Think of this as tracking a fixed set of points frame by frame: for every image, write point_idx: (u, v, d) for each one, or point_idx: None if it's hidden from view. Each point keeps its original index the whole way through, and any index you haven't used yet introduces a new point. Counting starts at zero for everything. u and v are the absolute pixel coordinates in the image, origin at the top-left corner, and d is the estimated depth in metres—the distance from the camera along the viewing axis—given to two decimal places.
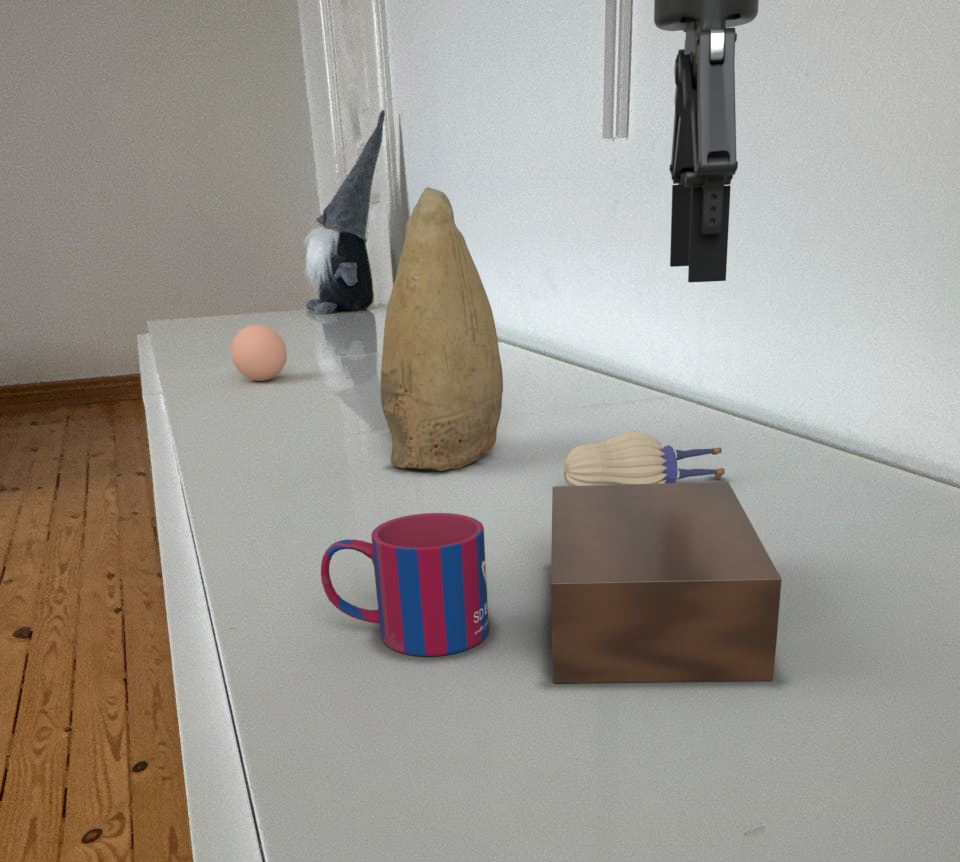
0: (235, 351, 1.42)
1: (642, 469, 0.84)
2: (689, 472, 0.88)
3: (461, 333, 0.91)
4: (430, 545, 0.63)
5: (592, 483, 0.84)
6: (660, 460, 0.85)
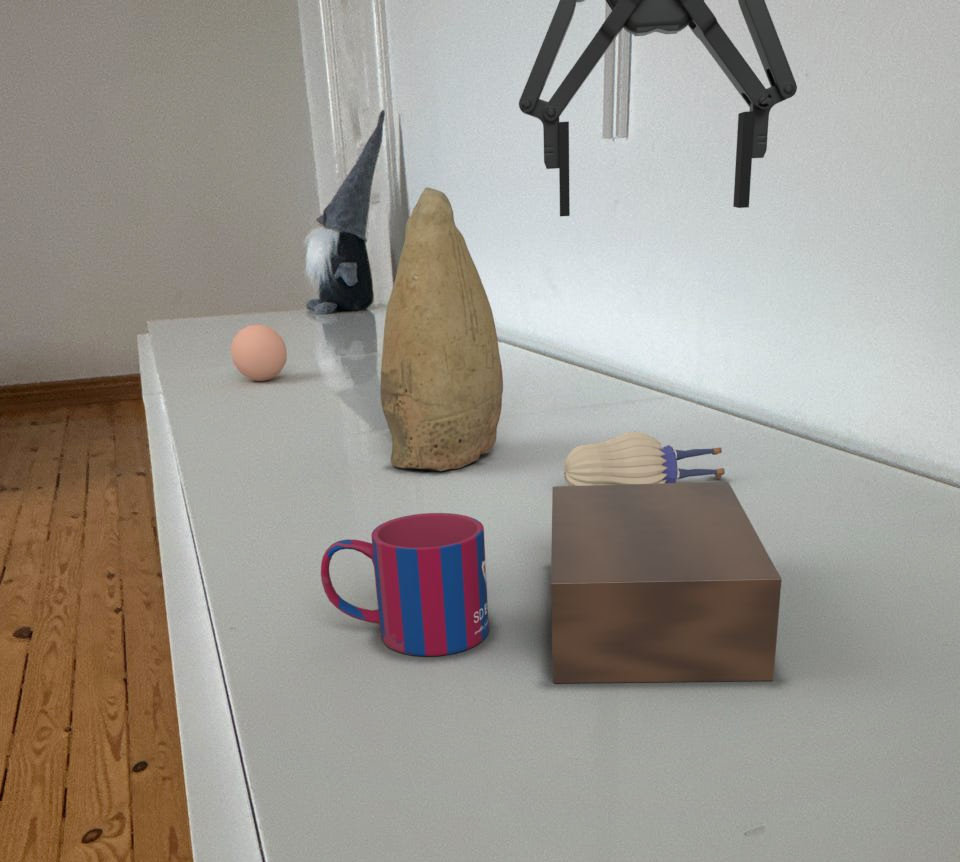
0: (235, 351, 1.42)
1: (642, 469, 0.84)
2: (689, 472, 0.88)
3: (461, 333, 0.91)
4: (430, 545, 0.63)
5: (592, 483, 0.84)
6: (660, 460, 0.85)
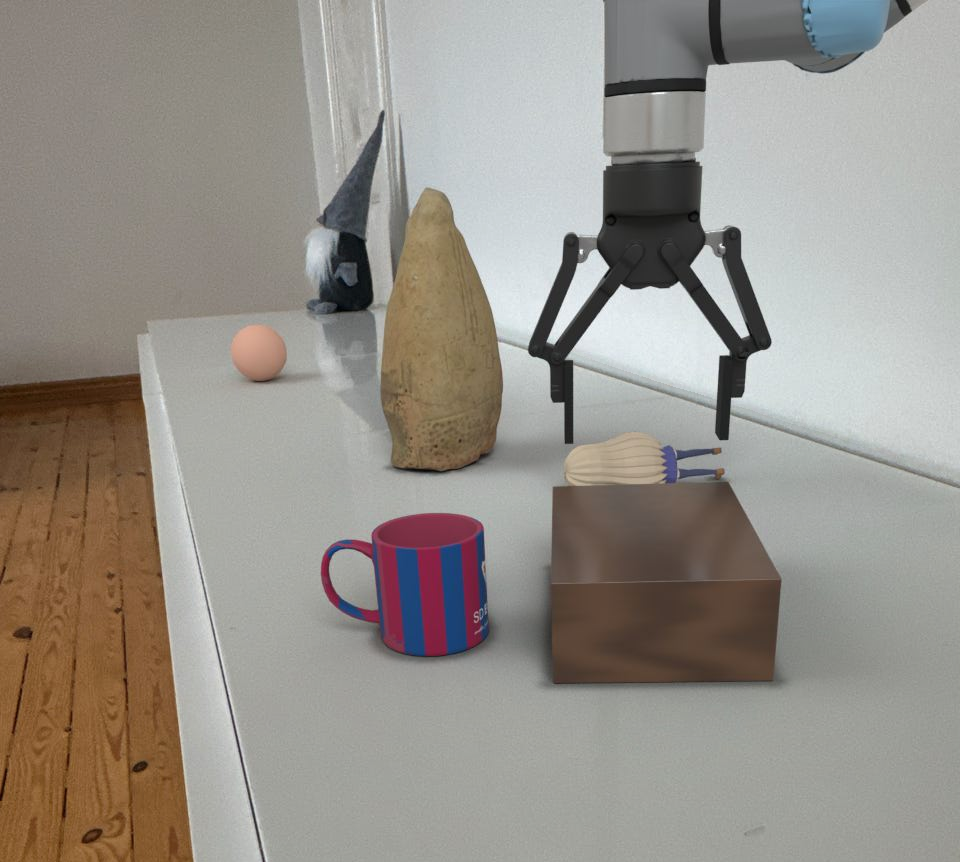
0: (235, 351, 1.42)
1: (642, 469, 0.84)
2: (689, 472, 0.88)
3: (461, 333, 0.91)
4: (430, 545, 0.63)
5: (592, 483, 0.84)
6: (660, 460, 0.85)
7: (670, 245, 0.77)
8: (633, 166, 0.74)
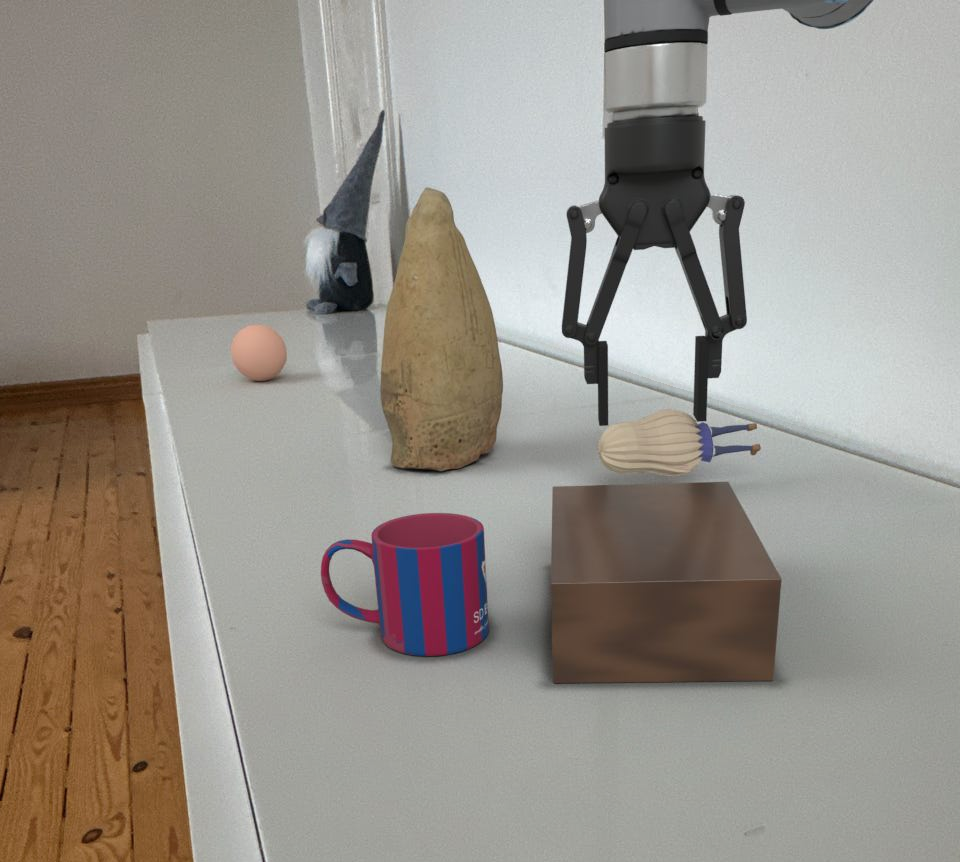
0: (235, 351, 1.42)
1: (678, 446, 0.83)
2: (725, 449, 0.86)
3: (461, 333, 0.91)
4: (430, 545, 0.63)
5: (628, 462, 0.82)
6: (696, 437, 0.84)
7: (675, 203, 0.76)
8: (635, 121, 0.73)
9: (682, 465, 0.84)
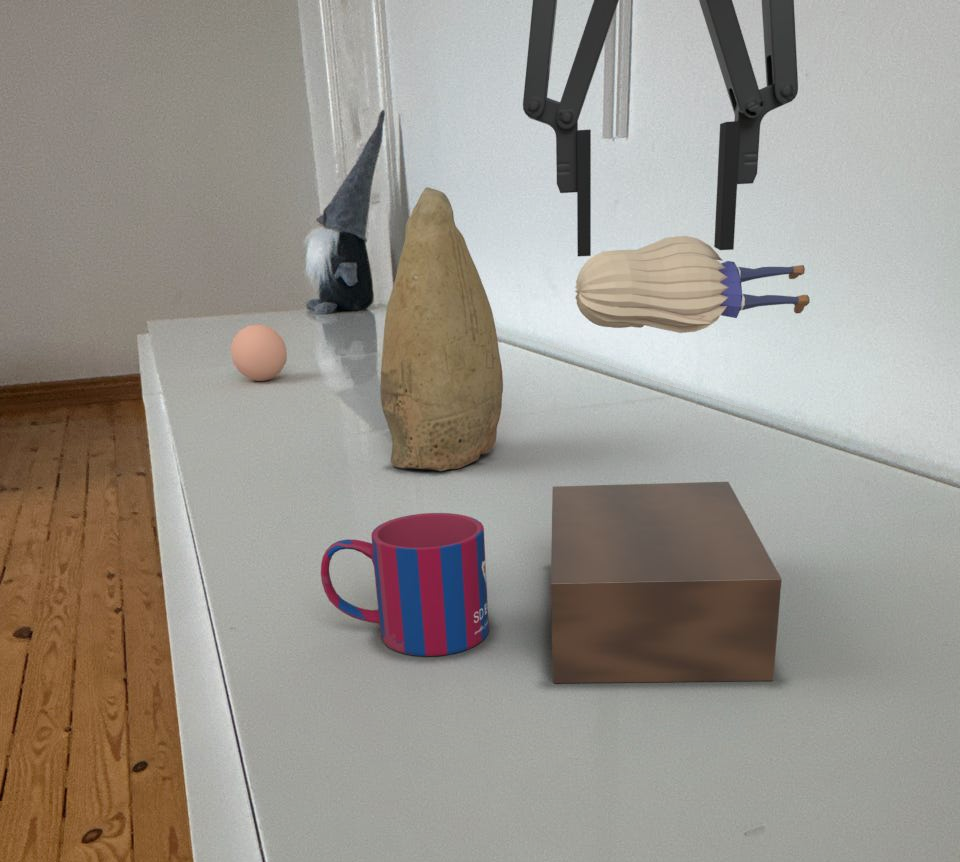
0: (235, 351, 1.42)
1: (692, 286, 0.57)
2: (759, 300, 0.60)
3: (461, 333, 0.91)
4: (430, 545, 0.63)
5: (618, 306, 0.56)
6: (718, 274, 0.58)
7: None
8: None
9: (697, 315, 0.58)
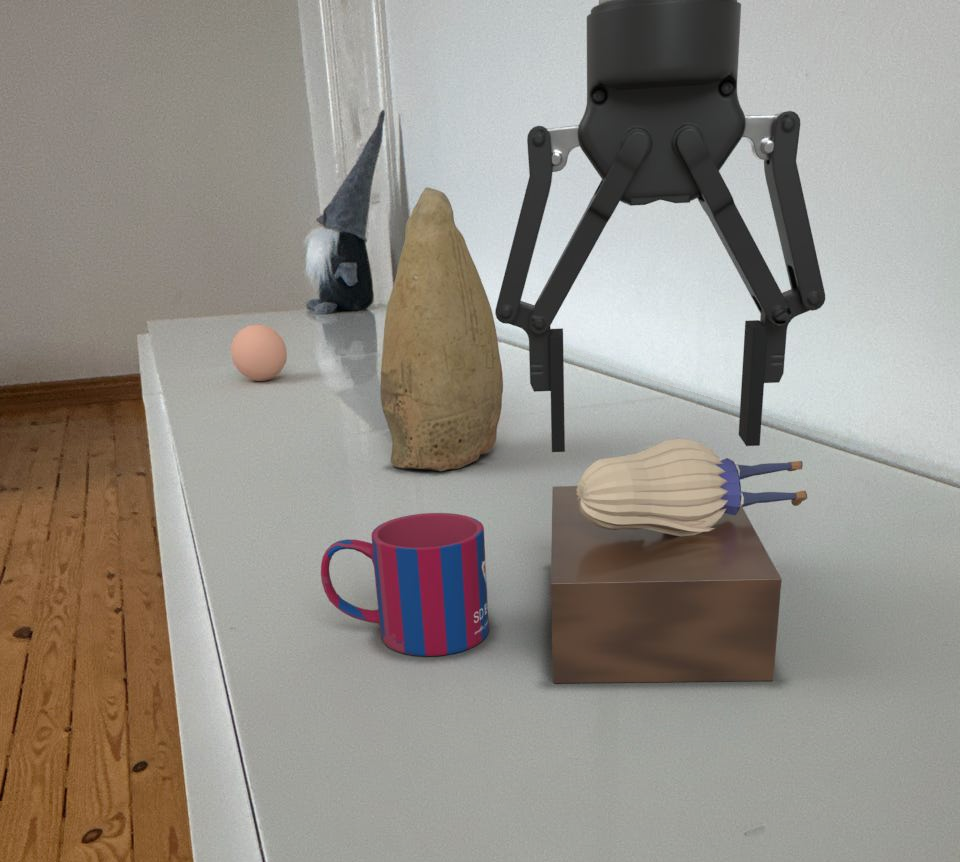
0: (235, 351, 1.42)
1: (693, 494, 0.57)
2: (758, 497, 0.61)
3: (461, 333, 0.91)
4: (430, 545, 0.63)
5: (620, 515, 0.57)
6: (719, 480, 0.58)
7: (692, 132, 0.50)
8: (633, 0, 0.47)
9: (697, 521, 0.58)
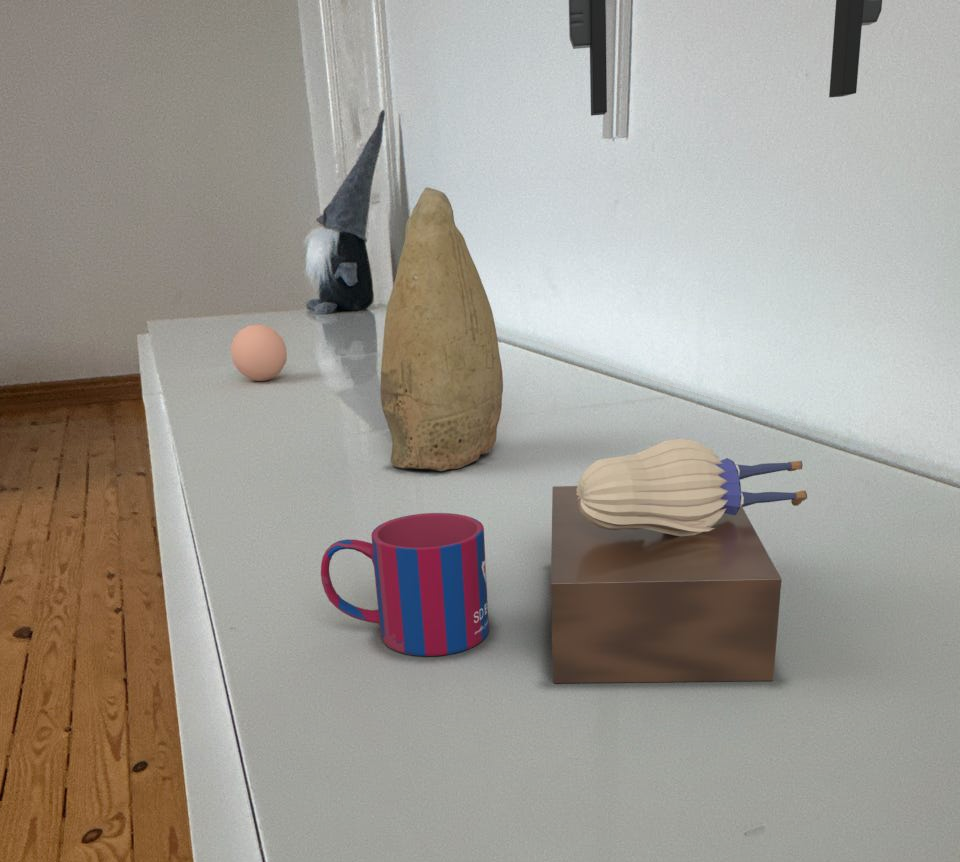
0: (235, 351, 1.42)
1: (692, 494, 0.57)
2: (758, 497, 0.61)
3: (461, 333, 0.91)
4: (430, 545, 0.63)
5: (620, 515, 0.57)
6: (719, 480, 0.58)
7: None
8: None
9: (697, 521, 0.58)
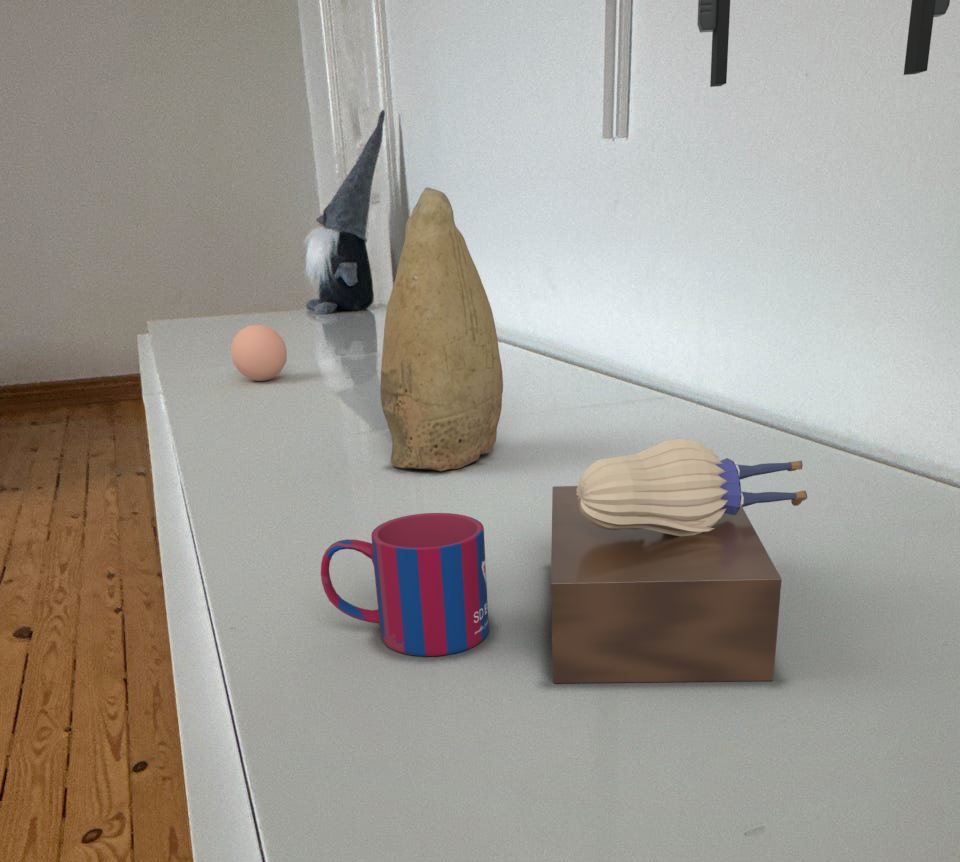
0: (235, 351, 1.42)
1: (692, 494, 0.57)
2: (758, 497, 0.61)
3: (461, 333, 0.91)
4: (430, 545, 0.63)
5: (620, 515, 0.57)
6: (719, 480, 0.58)
7: None
8: None
9: (697, 521, 0.58)
